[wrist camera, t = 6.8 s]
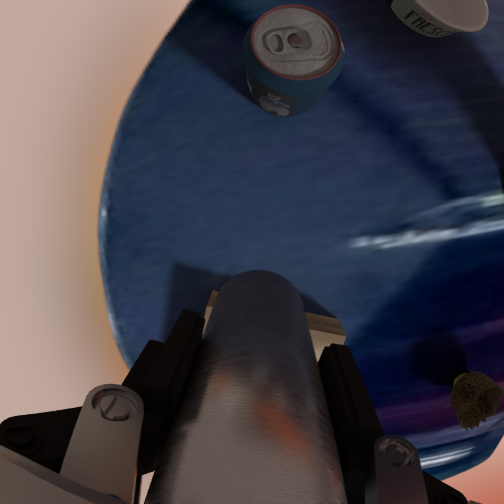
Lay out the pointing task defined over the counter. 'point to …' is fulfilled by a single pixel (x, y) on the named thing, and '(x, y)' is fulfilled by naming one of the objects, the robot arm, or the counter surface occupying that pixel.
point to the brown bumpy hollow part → (474, 397)
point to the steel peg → (252, 408)
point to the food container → (441, 15)
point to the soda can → (291, 58)
